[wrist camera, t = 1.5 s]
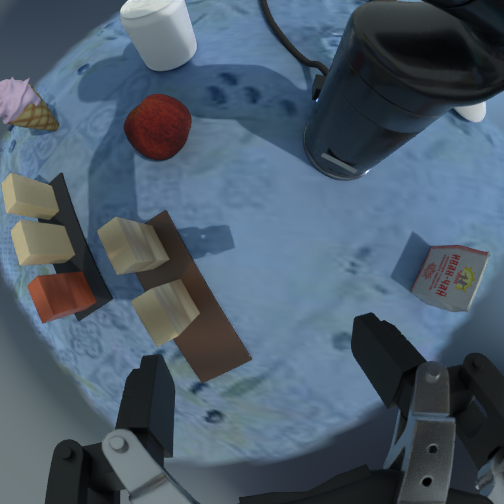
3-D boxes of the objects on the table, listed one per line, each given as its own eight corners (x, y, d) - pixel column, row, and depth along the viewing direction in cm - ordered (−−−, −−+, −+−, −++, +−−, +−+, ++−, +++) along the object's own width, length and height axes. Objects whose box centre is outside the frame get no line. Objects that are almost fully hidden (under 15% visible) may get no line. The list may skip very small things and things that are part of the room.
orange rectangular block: (71, 279, 30) (26, 285, 21) (82, 271, 30) (37, 275, 21) (85, 309, 30) (42, 323, 21) (96, 301, 30) (53, 315, 21)
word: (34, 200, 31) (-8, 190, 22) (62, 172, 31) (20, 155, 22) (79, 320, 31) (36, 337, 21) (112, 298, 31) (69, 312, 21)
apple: (177, 103, 31) (159, 69, 23) (210, 141, 31) (197, 109, 23) (132, 138, 31) (103, 112, 23) (162, 179, 31) (135, 159, 23)
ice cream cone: (72, 102, 31) (18, 58, 16) (73, 131, 31) (11, 89, 16) (43, 123, 31) (-13, 89, 16) (44, 152, 31) (-20, 122, 16)
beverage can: (192, 71, 31) (171, 12, 19) (140, 76, 31) (107, 27, 19) (202, 35, 31) (187, -21, 19) (153, 40, 31) (129, -9, 19)
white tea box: (447, 260, 30) (497, 262, 20) (427, 304, 30) (475, 318, 20) (431, 246, 30) (481, 244, 20) (409, 291, 30) (458, 303, 20)
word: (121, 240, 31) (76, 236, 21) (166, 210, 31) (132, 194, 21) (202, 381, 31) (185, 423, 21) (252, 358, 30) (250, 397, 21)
